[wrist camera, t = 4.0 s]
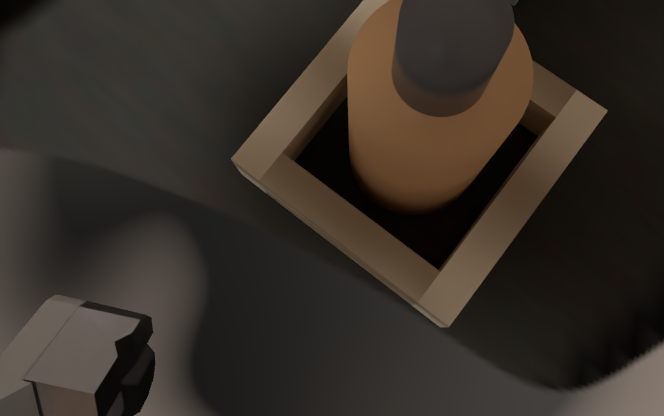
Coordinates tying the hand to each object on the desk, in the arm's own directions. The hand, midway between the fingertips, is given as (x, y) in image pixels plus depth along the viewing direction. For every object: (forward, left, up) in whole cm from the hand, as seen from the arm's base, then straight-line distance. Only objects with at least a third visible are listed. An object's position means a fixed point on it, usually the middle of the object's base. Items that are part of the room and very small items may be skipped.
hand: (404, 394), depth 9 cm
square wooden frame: (+7, +3, -11) cm, 14 cm away
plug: (+7, +3, -11) cm, 14 cm away
